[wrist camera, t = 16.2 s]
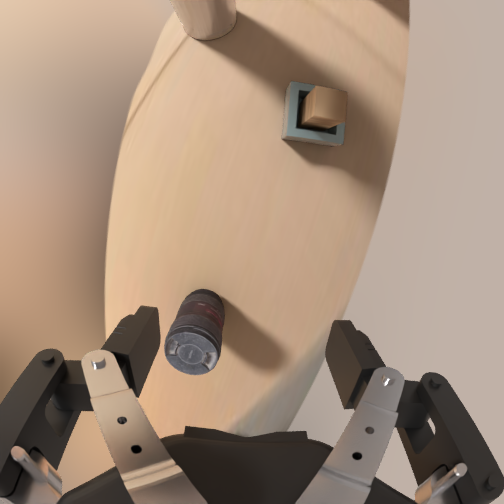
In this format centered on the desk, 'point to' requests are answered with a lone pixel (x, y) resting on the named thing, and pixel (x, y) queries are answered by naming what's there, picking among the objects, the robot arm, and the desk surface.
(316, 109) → the tan wooden block
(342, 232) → the desk surface
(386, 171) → the desk surface
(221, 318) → the camera lens
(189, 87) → the desk surface
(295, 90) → the slate open square box
